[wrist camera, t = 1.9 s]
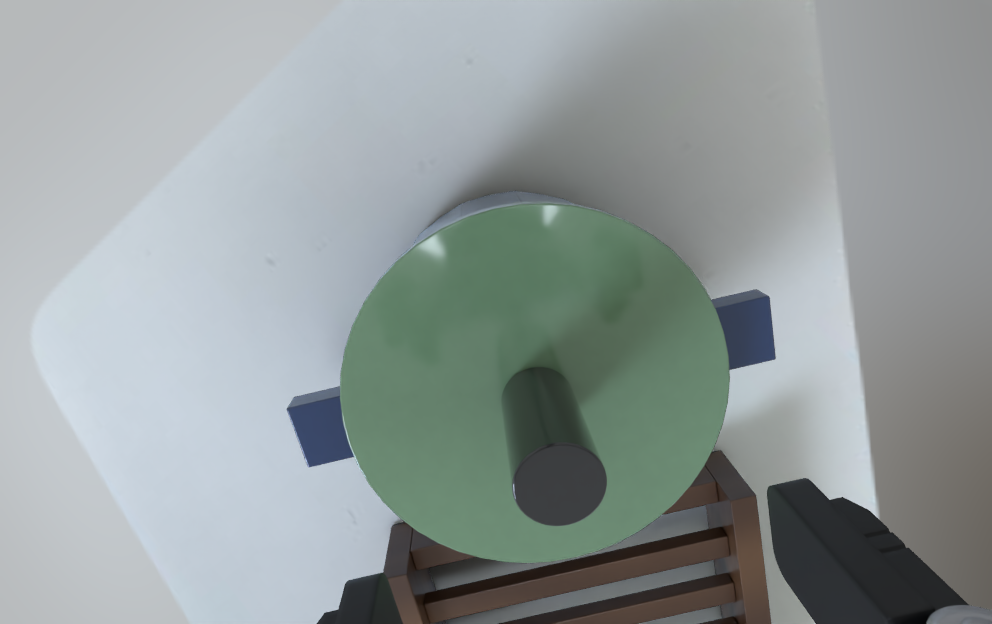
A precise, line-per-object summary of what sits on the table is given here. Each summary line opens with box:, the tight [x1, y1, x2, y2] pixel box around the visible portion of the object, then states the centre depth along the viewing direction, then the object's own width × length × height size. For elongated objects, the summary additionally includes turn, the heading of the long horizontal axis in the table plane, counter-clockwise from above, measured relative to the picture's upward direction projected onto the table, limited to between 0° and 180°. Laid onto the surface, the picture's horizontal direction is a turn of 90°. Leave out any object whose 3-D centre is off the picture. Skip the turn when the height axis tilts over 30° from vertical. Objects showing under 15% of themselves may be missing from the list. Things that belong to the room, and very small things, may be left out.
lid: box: [340, 201, 730, 563], centre depth 18 cm, size 13×13×6 cm
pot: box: [287, 191, 775, 467], centre depth 25 cm, size 12×17×8 cm
